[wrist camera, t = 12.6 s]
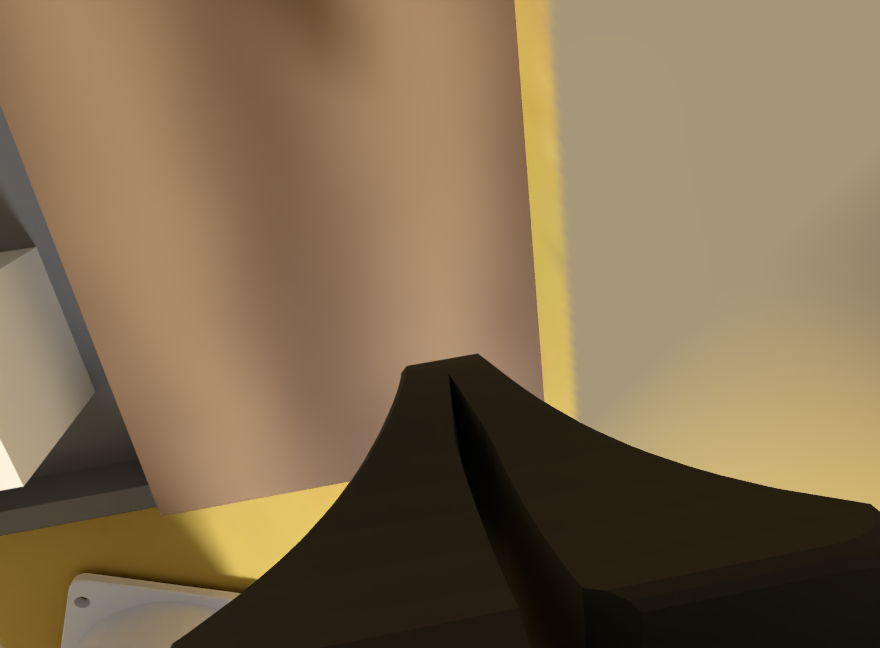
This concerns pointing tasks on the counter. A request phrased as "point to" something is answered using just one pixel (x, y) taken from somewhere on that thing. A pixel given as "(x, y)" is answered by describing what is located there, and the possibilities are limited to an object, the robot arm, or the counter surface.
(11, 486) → the white tile
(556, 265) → the counter surface
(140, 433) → the walnut board
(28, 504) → the tray
